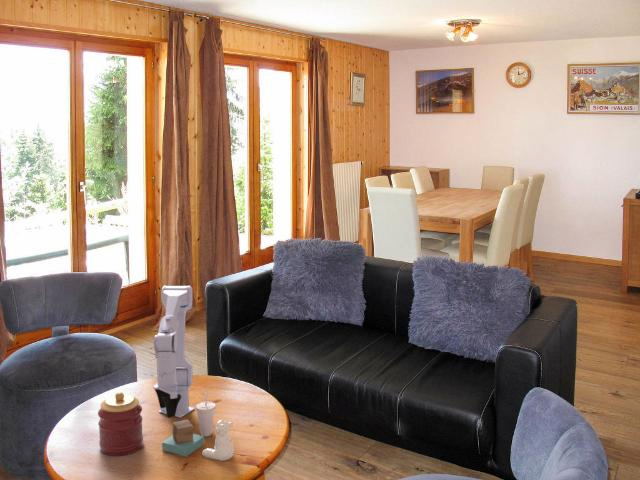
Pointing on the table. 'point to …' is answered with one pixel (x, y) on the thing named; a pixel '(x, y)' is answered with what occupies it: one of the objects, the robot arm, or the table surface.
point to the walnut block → (182, 431)
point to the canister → (120, 425)
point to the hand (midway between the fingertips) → (167, 411)
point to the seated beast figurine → (221, 443)
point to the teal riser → (183, 445)
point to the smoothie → (205, 416)
